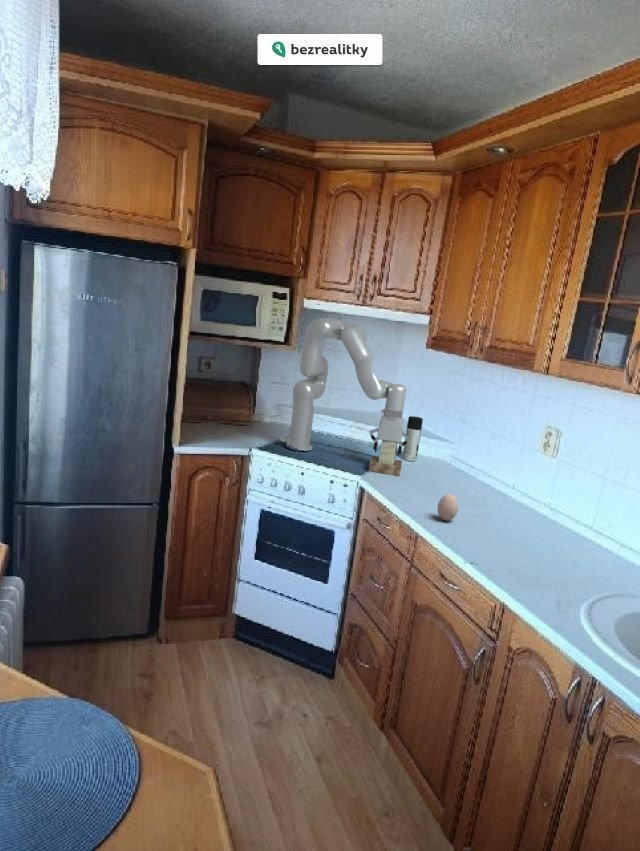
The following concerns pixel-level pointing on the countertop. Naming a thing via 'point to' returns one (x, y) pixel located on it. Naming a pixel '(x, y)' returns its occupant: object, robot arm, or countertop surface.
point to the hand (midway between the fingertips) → (386, 453)
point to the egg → (447, 507)
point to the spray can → (412, 438)
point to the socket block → (385, 467)
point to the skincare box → (387, 452)
